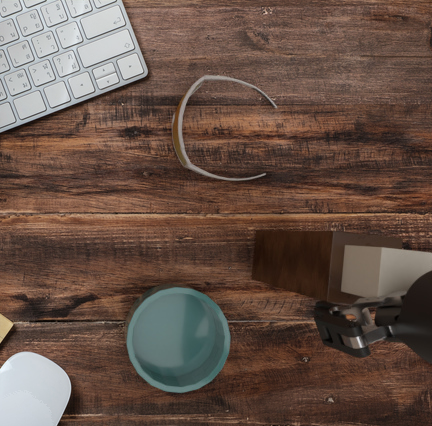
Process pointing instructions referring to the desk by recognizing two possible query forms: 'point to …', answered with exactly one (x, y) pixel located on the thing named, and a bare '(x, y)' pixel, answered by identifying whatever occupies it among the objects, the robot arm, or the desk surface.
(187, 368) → the bowl
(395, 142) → the desk surface
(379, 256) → the block
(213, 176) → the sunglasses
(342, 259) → the block
